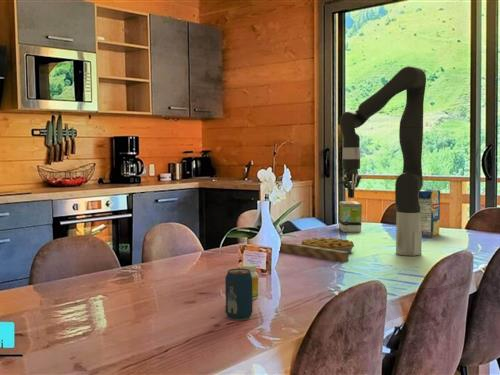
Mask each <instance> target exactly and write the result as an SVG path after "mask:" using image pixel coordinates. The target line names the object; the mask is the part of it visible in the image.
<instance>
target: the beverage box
mask: <svg viewBox="0 0 500 375" xmlns="http://www.w3.org/2000/svg"><path fill="white" fill-rule="evenodd" d="M418 202H419V205H420V231H422V237H430V238H431V236H432V237H435V236H438V235H440V218H441V190H440V189H421V190H420V191H419V192H418ZM437 234H438V235H437ZM434 235H435V236H434Z"/></svg>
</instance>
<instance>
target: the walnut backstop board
mask: <svg viewBox="0 0 500 375" xmlns="http://www.w3.org/2000/svg"><path fill="white" fill-rule="evenodd" d="M279 252H283V253H287V254H293V255H299V256H306V257H310V258H311V257H313V258H318V259H324V260H330V261H336V262H341V263H345V262H349V254H348V252H346V251H340V250H333V249H327V248H320V247H314V246H307V245H301V243H292V242H288V241H287V242H286V241H281V247H280V251H279Z"/></svg>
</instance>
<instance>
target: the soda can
mask: <svg viewBox="0 0 500 375" xmlns="http://www.w3.org/2000/svg"><path fill="white" fill-rule="evenodd" d="M224 283H225V287H224V288H225V293H224V294H225V296H224V297H225V305H224V306H225V307H224V308H225V310H224V311H225V314H226V316H227V317H228V319H229V318H230V320H232V319H235V320H234V321H244V320H243V319H246V320H249V319H250V318H251V317H252V314H253V310H254V309H253V307H254V306H253V301H254V300H253V278H252V275H251V273H250V270H248V269H243V268H242V267H241V268H239V267H238V268H236V267H235V268H231V269H228V270H227V273H226V275H225V281H224ZM249 317H250V318H249Z"/></svg>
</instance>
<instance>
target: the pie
mask: <svg viewBox="0 0 500 375" xmlns="http://www.w3.org/2000/svg"><path fill="white" fill-rule="evenodd" d="M300 244H301V245H307V246H314V247H320V248H327V249H333V250H340V251H346V252H348V255H350V254H351V252H352V250H353V248H354V247H355V244H354V242H353V241H351V240H350V241H349V240H348V239H342V238H335V237H329V238H325V237H320V238H316V237H313V238H311V239H310V238H308V239H305V240H302V241H301V243H300Z"/></svg>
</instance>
